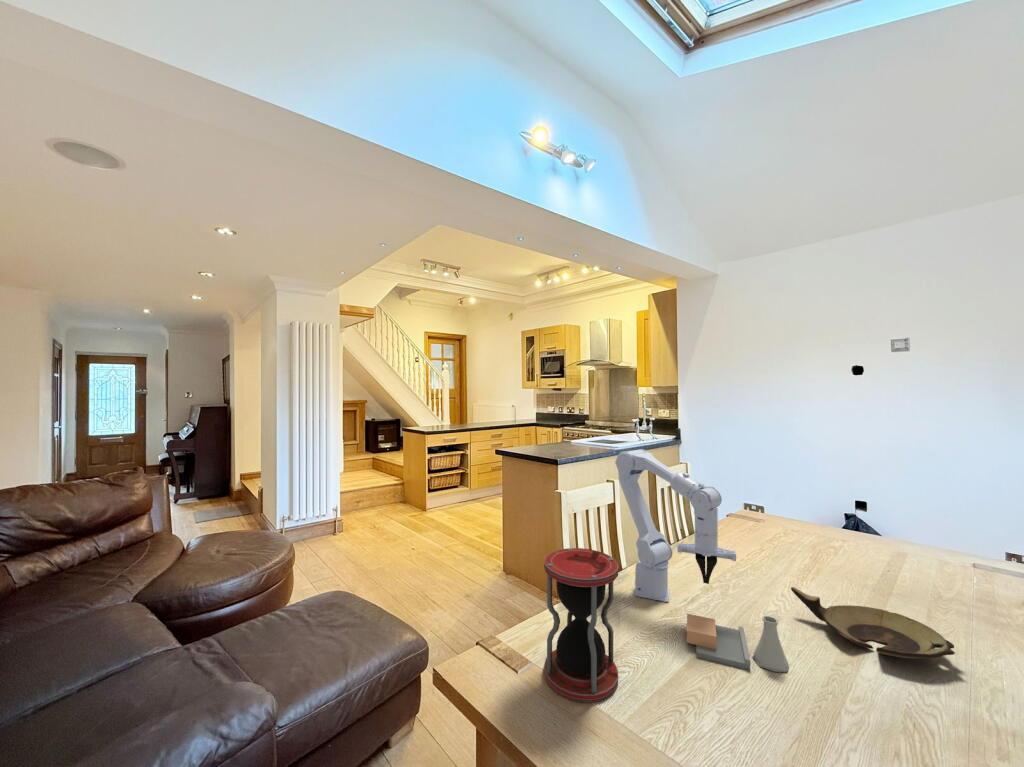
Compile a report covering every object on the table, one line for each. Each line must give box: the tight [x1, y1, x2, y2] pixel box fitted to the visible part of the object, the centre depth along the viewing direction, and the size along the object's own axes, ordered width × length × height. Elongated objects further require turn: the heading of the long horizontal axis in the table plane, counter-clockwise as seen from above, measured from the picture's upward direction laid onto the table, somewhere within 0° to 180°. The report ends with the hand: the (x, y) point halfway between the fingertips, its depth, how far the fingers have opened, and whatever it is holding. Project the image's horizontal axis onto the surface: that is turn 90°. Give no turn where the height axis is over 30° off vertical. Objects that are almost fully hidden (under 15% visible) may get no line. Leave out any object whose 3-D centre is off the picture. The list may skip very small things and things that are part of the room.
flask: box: [752, 615, 790, 673], centre depth 95 cm, size 7×7×10 cm
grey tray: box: [695, 624, 751, 671], centre depth 101 cm, size 11×14×2 cm
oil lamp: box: [790, 586, 956, 660], centre depth 104 cm, size 22×30×8 cm
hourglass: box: [543, 547, 619, 703], centre depth 91 cm, size 16×16×25 cm
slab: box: [686, 613, 717, 649], centre depth 103 cm, size 3×8×6 cm
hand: (706, 581), depth 113 cm, fingers closed
